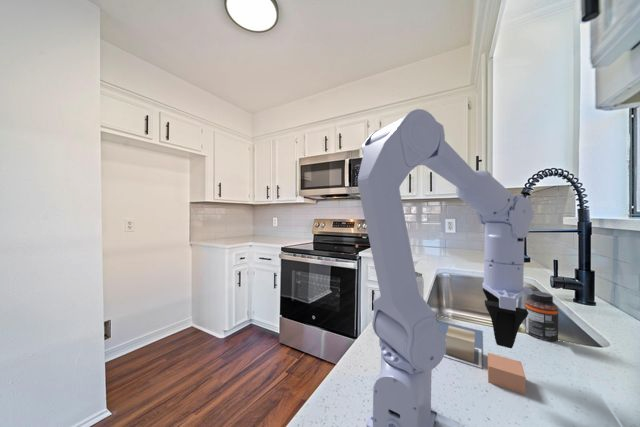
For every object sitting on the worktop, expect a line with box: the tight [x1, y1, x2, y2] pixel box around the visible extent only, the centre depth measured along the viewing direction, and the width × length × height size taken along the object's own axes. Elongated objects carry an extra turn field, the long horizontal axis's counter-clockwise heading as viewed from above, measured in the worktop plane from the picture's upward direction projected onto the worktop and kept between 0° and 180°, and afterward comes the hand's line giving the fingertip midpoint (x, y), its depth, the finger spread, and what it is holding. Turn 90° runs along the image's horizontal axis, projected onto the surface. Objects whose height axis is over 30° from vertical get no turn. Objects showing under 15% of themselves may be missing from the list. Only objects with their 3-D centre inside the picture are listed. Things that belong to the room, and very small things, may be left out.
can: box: [415, 271, 425, 299], centre depth 74 cm, size 6×6×12 cm
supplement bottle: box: [524, 290, 559, 343], centre depth 59 cm, size 6×6×11 cm
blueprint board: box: [436, 319, 484, 370], centre depth 57 cm, size 18×14×1 cm
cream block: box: [446, 326, 475, 362], centre depth 51 cm, size 5×5×4 cm
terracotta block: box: [486, 352, 527, 395], centre depth 43 cm, size 5×5×4 cm
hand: (501, 336), depth 44 cm, fingers open, 7 cm apart
